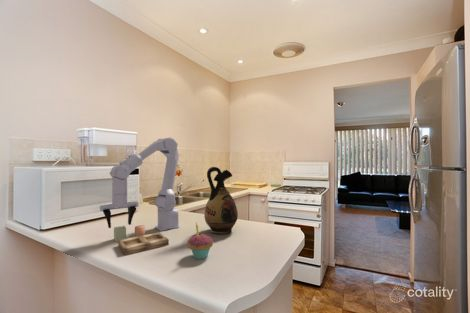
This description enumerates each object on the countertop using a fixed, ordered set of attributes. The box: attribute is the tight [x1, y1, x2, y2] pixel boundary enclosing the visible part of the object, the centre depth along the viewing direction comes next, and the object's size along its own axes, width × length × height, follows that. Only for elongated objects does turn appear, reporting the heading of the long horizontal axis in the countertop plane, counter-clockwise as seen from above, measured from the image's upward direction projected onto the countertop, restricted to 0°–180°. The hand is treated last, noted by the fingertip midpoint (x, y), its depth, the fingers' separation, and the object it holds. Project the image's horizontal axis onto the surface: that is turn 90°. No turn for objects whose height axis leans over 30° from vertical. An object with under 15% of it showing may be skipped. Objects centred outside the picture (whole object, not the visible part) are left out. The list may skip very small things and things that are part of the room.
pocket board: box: [117, 231, 170, 256], centre depth 90 cm, size 16×11×2 cm
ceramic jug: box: [203, 166, 239, 235], centre depth 107 cm, size 17×15×30 cm
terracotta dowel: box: [134, 224, 146, 237], centre depth 98 cm, size 4×4×5 cm
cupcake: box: [187, 222, 214, 260], centre depth 80 cm, size 9×8×12 cm
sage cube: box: [113, 225, 127, 243], centre depth 97 cm, size 4×4×5 cm
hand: (119, 225), depth 97 cm, fingers open, 7 cm apart
